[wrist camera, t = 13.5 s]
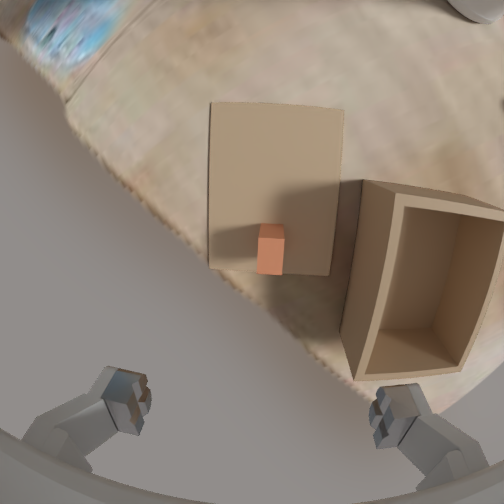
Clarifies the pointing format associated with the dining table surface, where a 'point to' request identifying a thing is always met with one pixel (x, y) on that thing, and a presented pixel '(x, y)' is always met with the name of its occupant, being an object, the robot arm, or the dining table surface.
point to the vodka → (480, 9)
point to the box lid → (273, 187)
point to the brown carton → (418, 280)
